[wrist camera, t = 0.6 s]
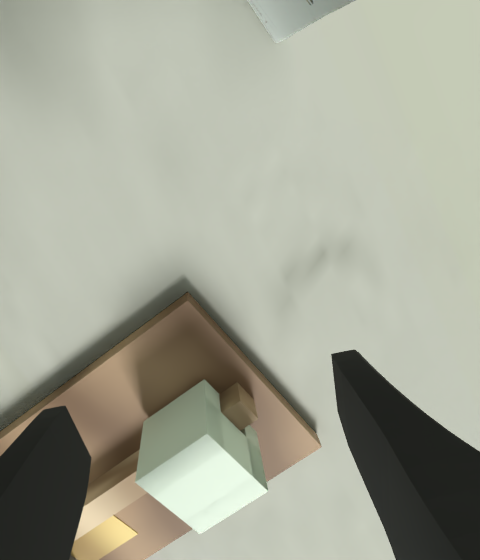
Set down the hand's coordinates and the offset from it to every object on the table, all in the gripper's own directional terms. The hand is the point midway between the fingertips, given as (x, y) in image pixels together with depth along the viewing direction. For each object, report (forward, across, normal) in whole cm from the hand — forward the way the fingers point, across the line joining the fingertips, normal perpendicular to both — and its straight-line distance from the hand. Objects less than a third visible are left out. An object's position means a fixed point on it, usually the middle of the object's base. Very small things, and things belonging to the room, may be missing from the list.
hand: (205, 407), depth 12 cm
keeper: (+8, +2, +9) cm, 12 cm away
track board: (+9, +7, +11) cm, 16 cm away
